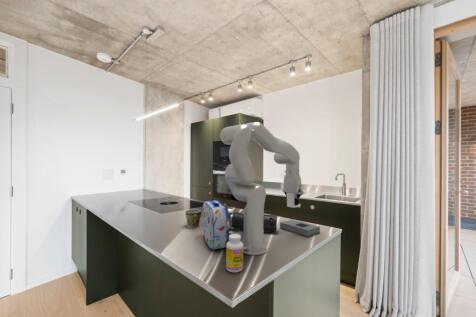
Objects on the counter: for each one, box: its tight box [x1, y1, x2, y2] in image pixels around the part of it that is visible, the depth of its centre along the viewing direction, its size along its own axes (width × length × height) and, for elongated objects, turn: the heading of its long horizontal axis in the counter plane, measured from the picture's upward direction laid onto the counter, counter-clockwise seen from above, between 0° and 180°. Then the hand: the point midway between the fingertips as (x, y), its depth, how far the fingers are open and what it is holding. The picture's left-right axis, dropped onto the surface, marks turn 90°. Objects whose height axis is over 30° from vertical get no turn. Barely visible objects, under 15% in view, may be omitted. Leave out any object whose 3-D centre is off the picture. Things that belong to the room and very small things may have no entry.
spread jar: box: [227, 208, 234, 231], centre depth 136 cm, size 12×11×12 cm
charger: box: [286, 192, 299, 209], centre depth 124 cm, size 5×5×8 cm
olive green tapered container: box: [184, 208, 202, 229], centre depth 136 cm, size 13×10×10 cm
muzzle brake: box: [229, 211, 278, 233], centre depth 131 cm, size 10×28×10 cm, turn 78°
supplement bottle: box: [225, 233, 244, 273], centre depth 84 cm, size 7×7×13 cm
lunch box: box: [201, 199, 232, 251], centre depth 110 cm, size 28×10×22 cm, turn 21°
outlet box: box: [279, 218, 321, 238], centre depth 130 cm, size 12×20×4 cm, turn 38°
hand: (292, 204), depth 123 cm, fingers closed on charger, 4 cm apart
